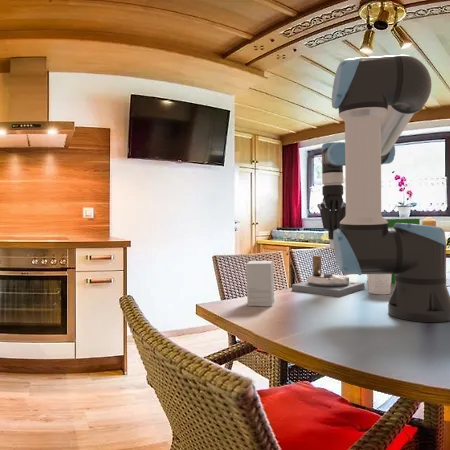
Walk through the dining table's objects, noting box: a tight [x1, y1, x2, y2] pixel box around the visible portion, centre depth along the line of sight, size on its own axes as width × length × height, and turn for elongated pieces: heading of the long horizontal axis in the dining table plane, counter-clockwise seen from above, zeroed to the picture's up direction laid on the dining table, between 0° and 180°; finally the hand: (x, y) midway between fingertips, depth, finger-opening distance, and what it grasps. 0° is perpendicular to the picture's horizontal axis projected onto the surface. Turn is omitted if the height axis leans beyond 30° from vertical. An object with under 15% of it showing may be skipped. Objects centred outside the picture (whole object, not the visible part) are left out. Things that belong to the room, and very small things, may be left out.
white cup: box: [366, 274, 392, 295], centre depth 129 cm, size 8×8×10 cm
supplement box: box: [245, 260, 275, 307], centre depth 116 cm, size 7×7×13 cm
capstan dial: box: [307, 255, 350, 286], centre depth 136 cm, size 16×14×9 cm
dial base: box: [291, 280, 366, 298], centre depth 136 cm, size 18×18×2 cm
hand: (333, 248), depth 145 cm, fingers closed
